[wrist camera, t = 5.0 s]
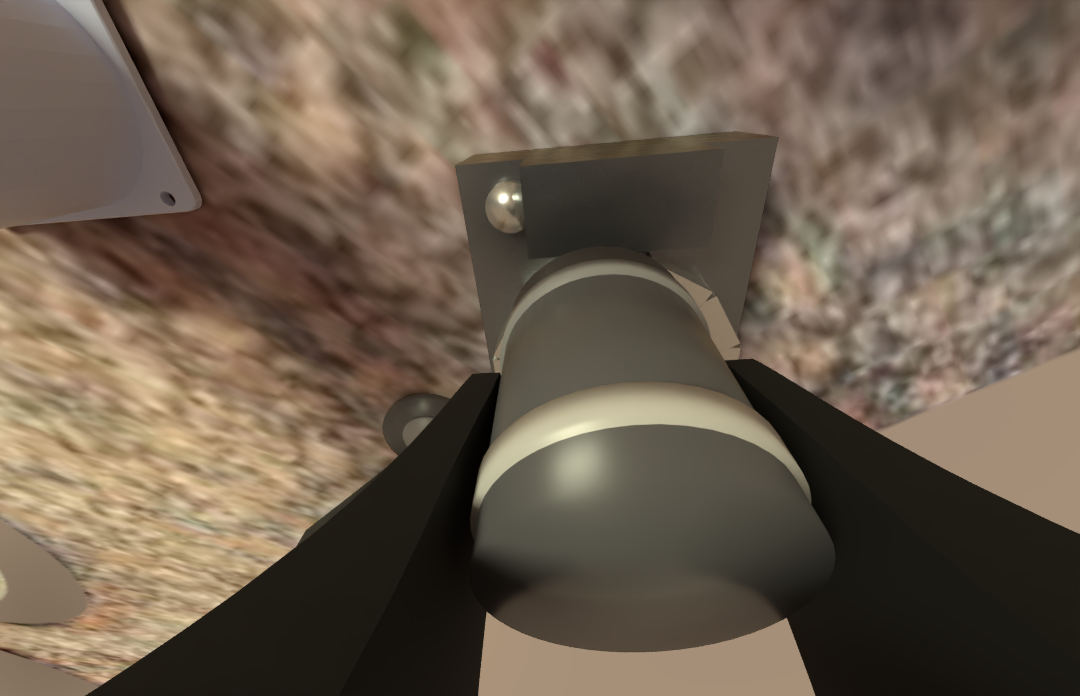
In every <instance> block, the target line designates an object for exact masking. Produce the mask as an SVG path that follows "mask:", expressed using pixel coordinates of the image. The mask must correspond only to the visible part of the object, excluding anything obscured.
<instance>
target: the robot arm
mask: <svg viewBox="0 0 1080 696" xmlns="http://www.w3.org/2000/svg"><path fill="white" fill-rule="evenodd" d="M169 193H170V194H171V195H172V196H173V197H174V198H175V202H176V203H175V202H174V201H173V200H172V199H171V198H170V195H169ZM201 205H202V199H201V196H200V193H199V191H198V189H197V187H196V185H195V184H194V182H193V180H192V178H191V176H190V174H189V172H188V170H187V168H186V166H185V164H184V162H183V160H182V158H181V156H180V154H179V152H178V150H177V148H176V146H175V144H174V142H173V140H172V138H171V136H170V134H169V132H168V130H167V128H166V126H165V124H164V122H163V120H162V118H161V116H160V114H159V112H158V110H157V108H156V106H155V104H154V102H153V100H152V98H151V96H150V94H149V92H148V90H147V89H146V87H145V85H144V83H143V81H142V79H141V77H140V75H139V73H138V71H137V69H136V67H135V65H134V63H133V61H132V59H131V57H130V55H129V53H128V51H127V49H126V47H125V45H124V43H123V41H122V39H121V37H120V35H119V33H118V31H117V29H116V27H115V25H114V23H113V21H112V19H111V17H110V15H109V13H108V11H107V9H106V7H105V5H104V3H103V1H102V0H0V229H3V228H7V227H12V226H22V225H34V224H46V223H58V222H70V221H82V220H94V219H105V218H117V217H129V216H141V215H153V214H165V213H177V212H189V211H193V210H196V209H199V208H200V207H201ZM725 362H726V364H727V365H728V367H729V369H730V370H731V372H732V374H733V375H734V377H735V379H736V380H737V382H738V384H739V385H740V387H741V389H742V390H743V392H744V393H745V395H746V397H747V398H748V400H749V402H750V403H751V405H752V407H753V408H754V410H755V411H757V412H758V413H759V414H760V415H761V416H762V417H763V418H765V419H766V420H767V421H768V422H769V423H770V424H771V425H772V427H773V428H774V429H775V431H776V432H777V433H778V434H779V436H780V437H781V439H782V441H783V442H784V444H785V445H786V447H787V449H788V450H789V452H790V453H791V455H792V457H793V458H794V460H795V461H796V463H797V465H798V466H799V468H800V469H801V471H802V473H803V474H804V477H805V479H806V481H807V483H808V485H809V489H810V494H811V505H812V507H813V508H814V510H815V512H816V513H817V515H818V517H819V518H820V520H821V522H822V523H823V525H824V527H825V528H826V530H827V532H828V533H829V536H830V538H831V540H832V542H833V544H834V549H835V556H836V558H835V564H834V570H833V572H832V574H831V576H830V578H829V581H828V582H827V583H826V585H825V586H824V587H823V589H822V590H821V592H820V593H819V594H817V595H816V596H815V597H814V598H813V599H812V600H811V601H810V602H809V603H808V604H806V605H805V606H804V607H802V608H801V609H800V610H798V611H797V612H795V613H793V614H792V615H790V616H788V617H787V619H788V622H789V624H790V627H791V630H792V633H793V635H794V638H795V640H796V643H797V646H798V649H799V652H800V654H801V657H802V660H803V662H804V665H805V668H806V670H807V673H808V676H809V679H810V681H811V684H812V687H813V690H814V693H815V695H816V696H1080V534H1078V533H1076V532H1074V531H1072V530H1069V529H1067V528H1065V527H1063V526H1061V525H1058V524H1056V523H1054V522H1052V521H1049V520H1047V519H1045V518H1043V517H1041V516H1039V515H1037V514H1035V513H1033V512H1031V511H1029V510H1027V509H1024V508H1022V507H1020V506H1018V505H1016V504H1014V503H1012V502H1010V501H1008V500H1006V499H1004V498H1002V497H999V496H997V495H995V494H993V493H991V492H989V491H987V490H985V489H983V488H981V487H979V486H977V485H975V484H972V483H971V482H969V481H967V480H965V479H963V478H961V477H959V476H957V475H955V474H953V473H951V472H949V471H947V470H945V469H943V468H941V467H940V466H938V465H936V464H934V463H932V462H930V461H928V460H926V459H925V458H923V457H921V456H919V455H917V454H916V453H914V452H912V451H910V450H908V449H906V448H904V447H903V446H901V445H899V444H897V443H895V442H893V441H891V440H890V439H888V438H886V437H884V436H883V435H881V434H879V433H878V432H876V431H874V430H872V429H871V428H869V427H867V426H865V425H864V424H862V423H860V422H858V421H857V420H855V419H853V418H852V417H850V416H848V415H847V414H845V413H843V412H842V411H840V410H838V409H837V408H835V407H833V406H832V405H830V404H828V403H827V402H825V401H823V400H822V399H820V398H818V397H817V396H815V395H813V394H812V393H810V392H809V391H807V390H805V389H804V388H802V387H800V386H799V385H797V384H795V383H794V382H792V381H791V380H789V379H787V378H786V377H784V376H782V375H781V374H779V373H777V372H776V371H774V370H772V369H771V368H769V367H767V366H765V365H764V364H762V363H760V362H758V361H756V360H754V359H740V360H725ZM500 380H501V374H500V372H499V373H480V374H472V375H471V376H470V377H469V378H468V379H467V381H466V382H465V383H464V384H463V385H462V386H461V387H460V388H459V390H458V391H457V392H456V393H455V394H454V395H453V397H452V398H451V399H450V400H449V401H448V402H447V404H446V405H445V406H444V407H443V408H442V409H441V410H440V412H439V413H438V414H437V415H436V416H435V417H434V418H433V419H432V421H431V422H430V423H429V424H428V425H427V426H426V427H425V428H424V429H423V430H422V432H421V433H420V434H419V435H418V436H417V437H416V438H415V439H414V440H413V441H412V442H411V444H410V445H409V446H408V447H407V448H406V449H405V450H404V451H403V452H402V453H401V454H400V455H399V456H398V457H397V458H396V459H395V460H394V461H393V462H392V463H391V464H390V465H389V466H388V467H387V468H386V469H385V470H384V471H383V472H382V473H381V474H380V475H379V476H378V477H377V478H376V479H375V480H374V481H373V482H372V483H370V484H369V485H368V486H367V487H366V488H365V489H364V490H363V491H362V492H361V493H360V494H359V495H357V496H356V497H355V498H354V499H353V500H352V501H351V502H350V503H348V504H347V505H346V506H345V507H344V508H343V509H341V510H340V511H339V512H338V513H337V514H336V515H334V516H333V517H332V518H331V519H330V520H329V521H327V522H326V523H325V524H324V525H323V526H322V527H320V528H319V529H318V530H317V531H316V532H314V533H313V534H312V535H311V536H309V537H308V538H307V539H306V540H304V541H303V542H302V543H300V544H299V545H298V546H297V547H295V548H294V549H293V550H291V551H290V552H289V553H288V554H286V555H285V556H284V557H282V558H281V559H280V560H278V561H277V562H276V563H275V564H273V565H272V566H271V567H269V568H268V569H267V570H265V571H264V572H263V573H262V574H260V575H259V576H258V577H256V578H255V579H254V580H252V581H251V582H250V583H249V584H247V585H246V586H245V587H243V588H242V589H241V590H239V591H238V592H237V593H235V594H234V595H232V596H231V597H230V598H228V599H227V600H226V601H224V602H223V603H221V604H220V605H219V606H217V607H216V608H214V609H213V610H211V611H210V612H209V613H207V614H206V615H204V616H203V617H202V618H200V619H199V620H197V621H196V622H195V623H193V624H192V625H190V626H189V627H187V628H186V629H185V630H183V631H182V632H180V633H179V634H177V635H176V636H174V637H173V638H171V639H170V640H168V641H167V642H165V643H164V644H163V645H161V646H160V647H158V648H157V649H155V650H154V651H152V652H151V653H149V654H148V655H146V656H145V657H143V658H142V659H140V660H139V661H138V662H136V663H135V664H133V665H132V666H130V667H129V668H127V669H125V670H124V671H122V672H121V673H119V674H118V675H116V676H115V677H113V678H112V679H110V680H109V681H107V682H106V683H104V684H103V685H101V686H100V687H98V688H97V689H95V690H93V691H92V692H91V693H89V694H87V695H86V696H478V689H479V678H480V668H481V657H482V648H483V639H484V629H485V619H486V612H487V611H486V610H485V609H484V608H483V607H482V606H481V605H480V603H479V602H478V600H477V599H476V597H475V596H474V594H473V592H472V589H471V586H470V583H469V567H470V561H471V555H472V549H473V543H474V539H473V536H472V533H471V525H470V516H471V510H472V504H473V498H474V493H475V488H476V482H477V477H478V471H479V468H480V465H481V462H482V460H483V457H484V455H485V454H486V452H487V451H488V449H489V446H490V440H491V434H492V428H493V422H494V416H495V410H496V404H497V398H498V392H499V386H500Z"/></svg>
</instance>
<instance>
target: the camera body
mask: <svg viewBox="0 0 1080 696" xmlns="http://www.w3.org/2000/svg"><path fill="white" fill-rule="evenodd" d="M777 142H778V137H776V136H768V135H760V134H752V133H744V132H737V131H734V132H723V133H712V134H701V135H690V136H679V137H668V138H656V139H645V140H634V141H623V142H612V143H601V144H590V145H579V146H567V147H556V148H545V149H534V150H523V151H512V152H501V153H490V154H478V155H473V156H471V157H469V158H467V159H466V160H464V161H462V162H460V163H458V164H457V165H455V168H456V173H457V179H458V185H459V190H460V196H461V201H462V207H463V213H464V218H465V224H466V229H467V235H468V241H469V246H470V252H471V257H472V263H473V269H474V274H475V280H476V285H477V291H478V296H479V302H480V308H481V313H482V319H483V324H484V330H485V336H486V341H487V347H488V352H489V358H490V364H491V369H492V373H499V372H500V374H501V368H500V351H501V345H502V340H503V334H504V330H505V327H506V324H507V321H508V318H509V316H510V314H511V312H512V309H513V306H514V303H515V300H516V298H517V296H518V294H519V292H520V291H521V289H522V288H523V286H524V285H525V284H526V282H527V281H528V280H529V279H530V278H531V277H532V276H533V275H534V273H536V272H537V271H538V270H539V269H540V268H542V267H543V266H544V265H546V264H547V263H549V262H551V261H552V260H554V259H556V258H558V257H560V256H562V255H564V254H566V253H570V252H573V251H576V250H579V249H584V248H590V247H601V246H609V247H620V248H625V249H630V250H633V251H636V252H639V253H642V254H644V255H646V256H648V257H650V258H652V259H654V260H655V261H657V262H658V263H660V264H661V265H663V266H664V267H665V268H666V269H667V270H668V271H669V272H670V273H671V274H672V275H673V277H674V278H675V279H676V280H677V281H678V282H679V283H680V284H681V285H682V286H683V287H684V288H685V289H686V290H687V291H688V292H689V294H690V295H691V296H692V298H693V299H694V300H695V302H696V304H697V305H698V307H699V308H700V310H701V312H702V313H703V315H704V317H705V319H706V321H707V324H708V327H709V331H710V335H711V339H712V340H713V342H714V344H715V345H716V347H717V349H718V350H719V352H720V354H721V355H722V357H723V359H724V360H738V358H739V354H740V349H741V348H740V346H739V345H738V344H740V342H739V340H738V338H737V336H738V331H739V326H740V321H741V317H742V312H743V307H744V302H745V297H746V292H747V288H748V283H749V278H750V273H751V268H752V263H753V258H754V254H755V249H756V244H757V239H758V234H759V229H760V224H761V220H762V215H763V210H764V205H765V200H766V195H767V190H768V186H769V181H770V176H771V171H772V166H773V161H774V156H775V152H776V147H777Z"/></svg>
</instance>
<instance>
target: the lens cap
mask: <svg viewBox="0 0 1080 696" xmlns="http://www.w3.org/2000/svg"><path fill="white" fill-rule="evenodd" d="M449 400H450V399H449V398H447V397H444V396H440V395H436V394H423V393H421V394H414V395H409V396H406V397H404V398H402V399H400V400H398V401H397V402H395V403H394V404H393V405H392V406H391V408H390V409H389V411H388V413H387V414H386V416H385V419H384V422H383V434H384V437H385V439H386V442H387V443H388V445H389V446H390V447H391V449H392V450H393V451H394V452H395V453H396V454H397V455H400V454H401V453H402V452H403V451H404V450H405V449H406V448H407V447H408V446H409V445H410V444H411V442H412V441H413V440H414V439H415V438H416V437H417V436H418V435H419V434H420V433H421V432H422V430H423V429H424V428H425V427H426V426H427V425H428V424H429V423H430V422H431V421H432V419H433V418H434V417H435V416H436V415H437V414H438V413H439V412H440V410H441V409H442V408H443V407H444V406H445V405H446V404H447V402H448V401H449Z"/></svg>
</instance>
